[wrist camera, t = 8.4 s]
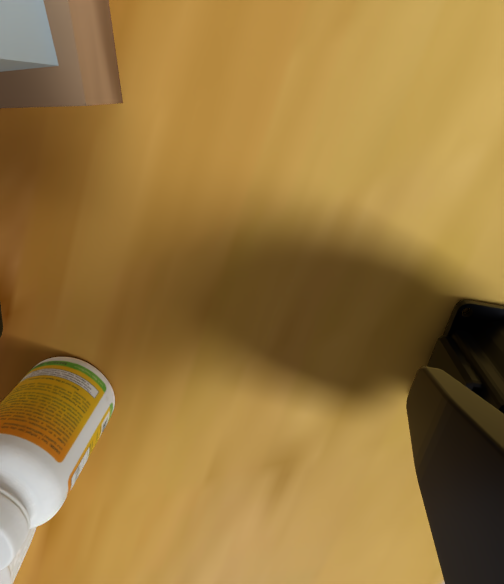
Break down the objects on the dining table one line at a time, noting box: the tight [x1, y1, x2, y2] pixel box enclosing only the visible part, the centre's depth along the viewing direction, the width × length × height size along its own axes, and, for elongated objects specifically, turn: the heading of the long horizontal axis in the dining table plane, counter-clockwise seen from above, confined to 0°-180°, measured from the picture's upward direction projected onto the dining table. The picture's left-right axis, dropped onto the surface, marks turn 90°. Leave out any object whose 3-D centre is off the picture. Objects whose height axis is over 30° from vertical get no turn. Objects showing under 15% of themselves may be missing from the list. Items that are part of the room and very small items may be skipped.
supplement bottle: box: [0, 357, 115, 570], centre depth 22 cm, size 5×5×10 cm
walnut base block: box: [0, 0, 123, 108], centre depth 16 cm, size 6×6×4 cm
